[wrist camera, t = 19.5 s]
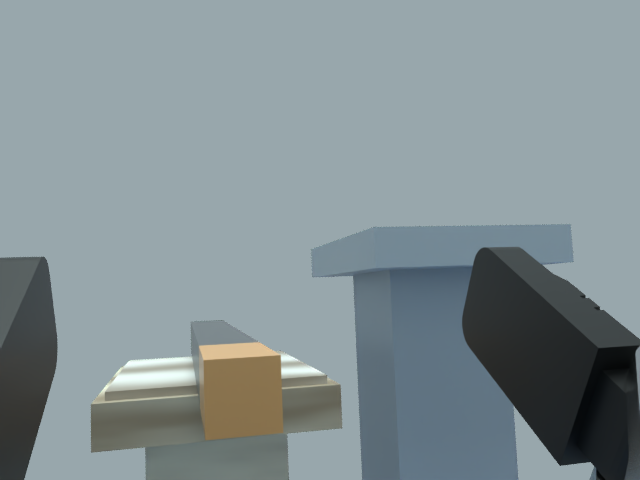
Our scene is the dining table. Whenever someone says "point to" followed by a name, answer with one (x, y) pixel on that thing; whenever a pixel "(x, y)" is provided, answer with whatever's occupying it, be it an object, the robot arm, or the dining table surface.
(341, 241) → the tall stand
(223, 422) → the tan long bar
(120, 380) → the marble stand
